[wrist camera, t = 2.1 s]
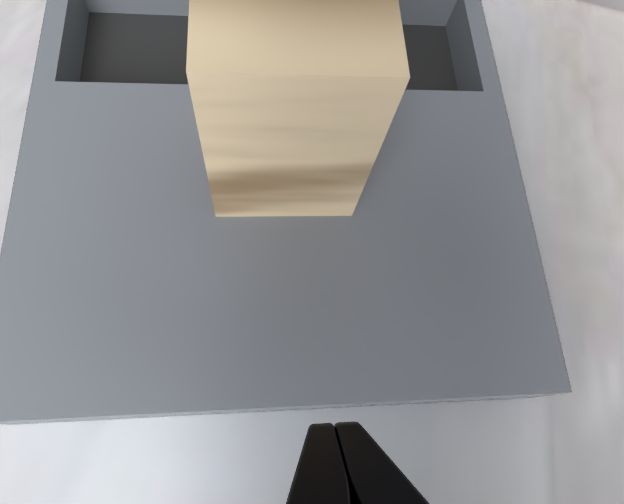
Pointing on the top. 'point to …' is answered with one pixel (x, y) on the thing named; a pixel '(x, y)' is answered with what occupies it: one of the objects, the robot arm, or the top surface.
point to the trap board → (261, 243)
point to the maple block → (293, 100)
